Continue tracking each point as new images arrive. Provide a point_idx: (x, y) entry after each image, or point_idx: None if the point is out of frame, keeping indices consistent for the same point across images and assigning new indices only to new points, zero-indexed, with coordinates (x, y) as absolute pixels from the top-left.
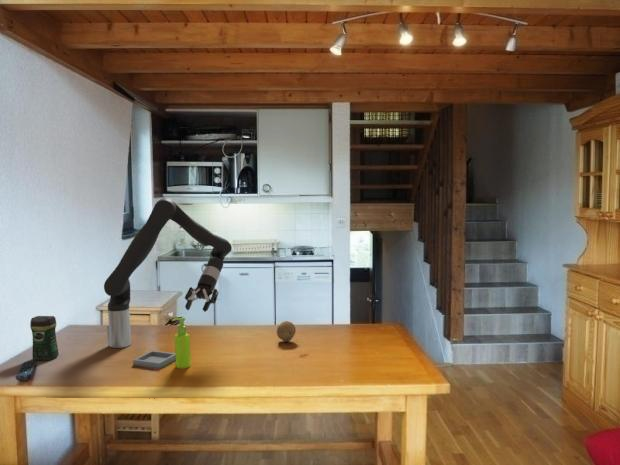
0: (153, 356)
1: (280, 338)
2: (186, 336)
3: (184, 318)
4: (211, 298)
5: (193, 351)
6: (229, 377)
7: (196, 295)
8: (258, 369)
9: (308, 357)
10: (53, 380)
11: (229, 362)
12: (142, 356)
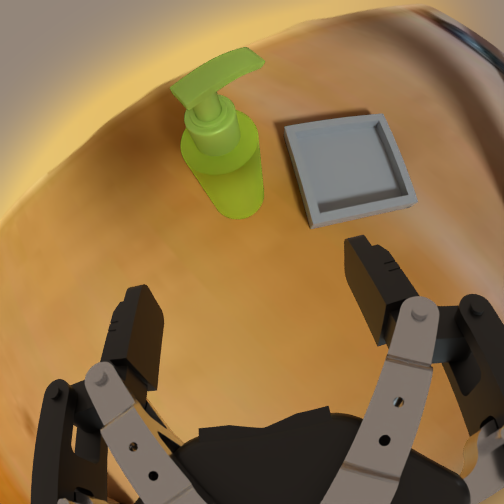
0: (388, 189)
1: (110, 498)
2: (181, 138)
3: (179, 93)
4: (62, 407)
5: (323, 323)
6: (66, 211)
7: (348, 417)
8: (39, 296)
9: (17, 414)
10: (410, 25)
11: None
12: (389, 144)
